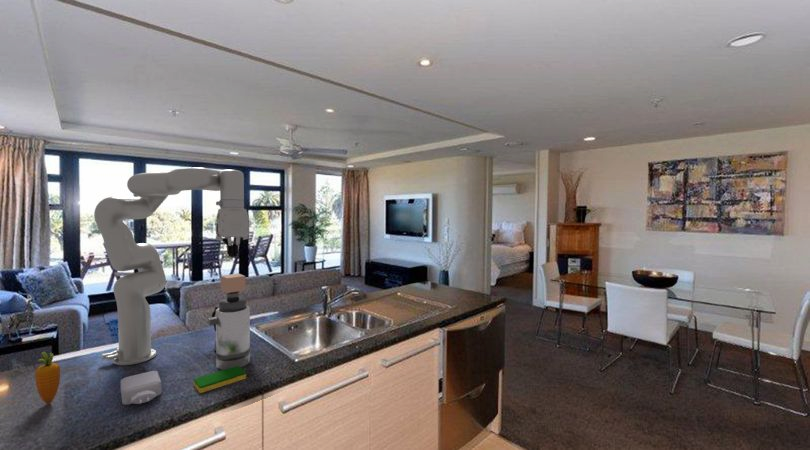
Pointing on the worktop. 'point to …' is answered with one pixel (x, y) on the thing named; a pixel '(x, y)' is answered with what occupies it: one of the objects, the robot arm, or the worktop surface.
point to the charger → (140, 388)
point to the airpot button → (232, 283)
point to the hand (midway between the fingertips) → (232, 256)
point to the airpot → (232, 332)
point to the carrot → (47, 378)
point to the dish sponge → (219, 379)
